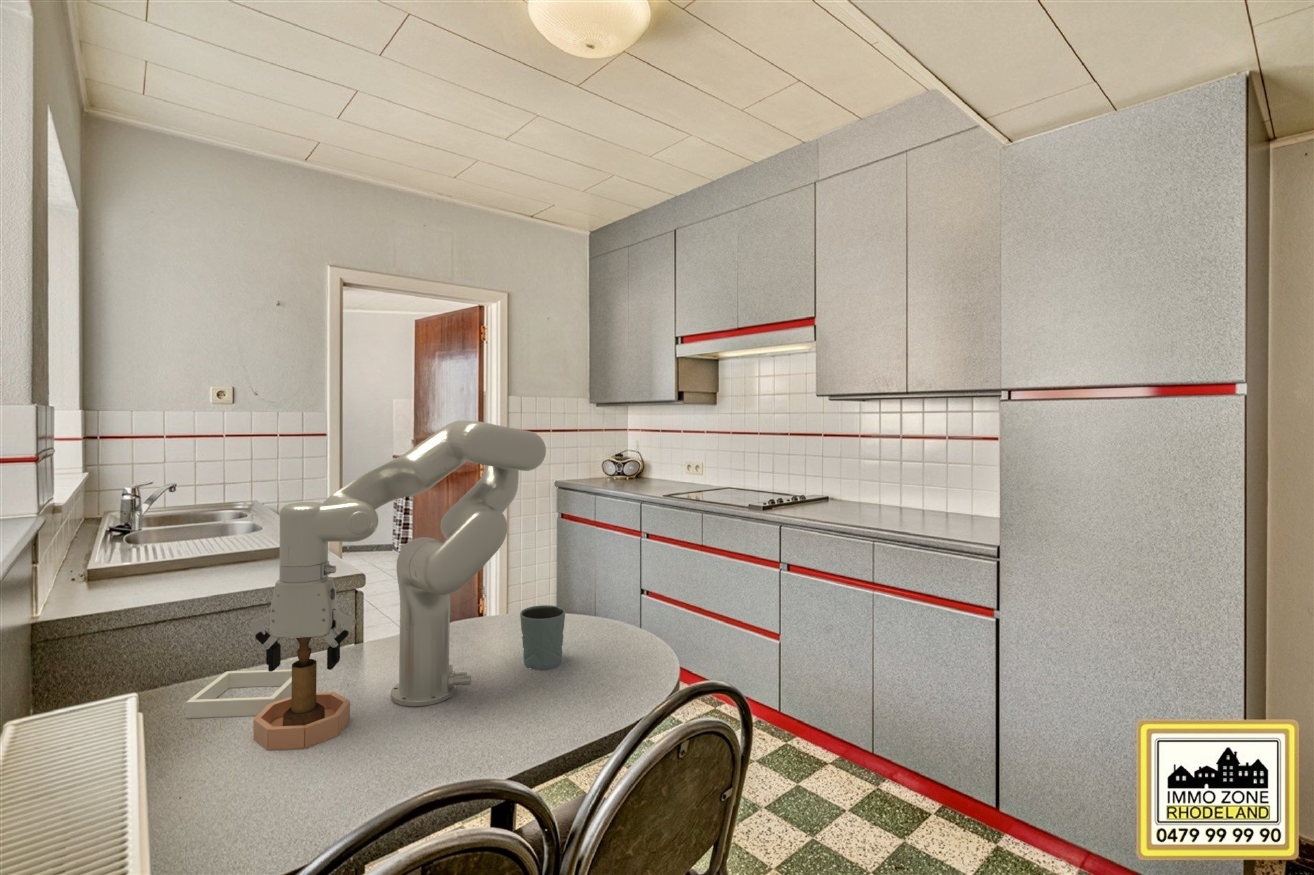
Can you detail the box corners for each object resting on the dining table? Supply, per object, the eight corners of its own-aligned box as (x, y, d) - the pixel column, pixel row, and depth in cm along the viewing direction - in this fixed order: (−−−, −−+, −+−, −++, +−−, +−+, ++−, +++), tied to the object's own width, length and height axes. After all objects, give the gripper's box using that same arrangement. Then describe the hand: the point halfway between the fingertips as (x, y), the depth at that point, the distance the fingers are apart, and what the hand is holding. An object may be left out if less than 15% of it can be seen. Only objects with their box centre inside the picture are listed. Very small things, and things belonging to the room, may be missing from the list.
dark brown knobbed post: (305, 735, 110) (305, 632, 109) (273, 731, 111) (273, 629, 110) (332, 717, 116) (333, 620, 116) (302, 713, 118) (302, 617, 117)
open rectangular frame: (304, 683, 132) (304, 669, 132) (273, 714, 118) (273, 699, 118) (226, 685, 130) (226, 671, 130) (185, 718, 116) (185, 702, 116)
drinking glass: (573, 661, 148) (574, 610, 147) (543, 675, 139) (544, 621, 139) (540, 651, 153) (541, 602, 153) (509, 665, 144) (510, 612, 144)
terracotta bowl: (357, 709, 121) (357, 691, 121) (330, 747, 108) (330, 727, 108) (278, 712, 120) (278, 694, 119) (241, 751, 106) (241, 730, 106)
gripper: (362, 567, 118) (361, 658, 118) (261, 567, 115) (261, 661, 116) (348, 577, 110) (347, 674, 111) (240, 578, 108) (240, 678, 108)
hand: (303, 667), depth 113 cm, fingers open, 9 cm apart
